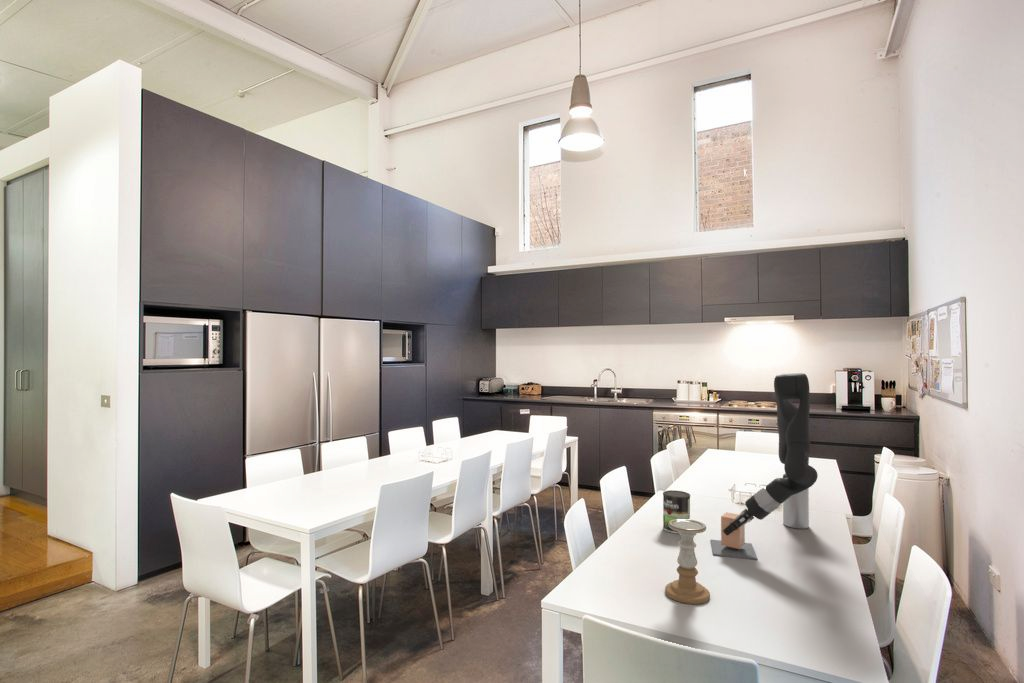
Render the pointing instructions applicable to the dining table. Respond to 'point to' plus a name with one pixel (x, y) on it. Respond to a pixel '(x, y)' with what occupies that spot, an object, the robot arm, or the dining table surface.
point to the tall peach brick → (734, 538)
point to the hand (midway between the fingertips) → (727, 530)
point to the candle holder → (687, 565)
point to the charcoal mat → (743, 552)
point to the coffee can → (675, 507)
